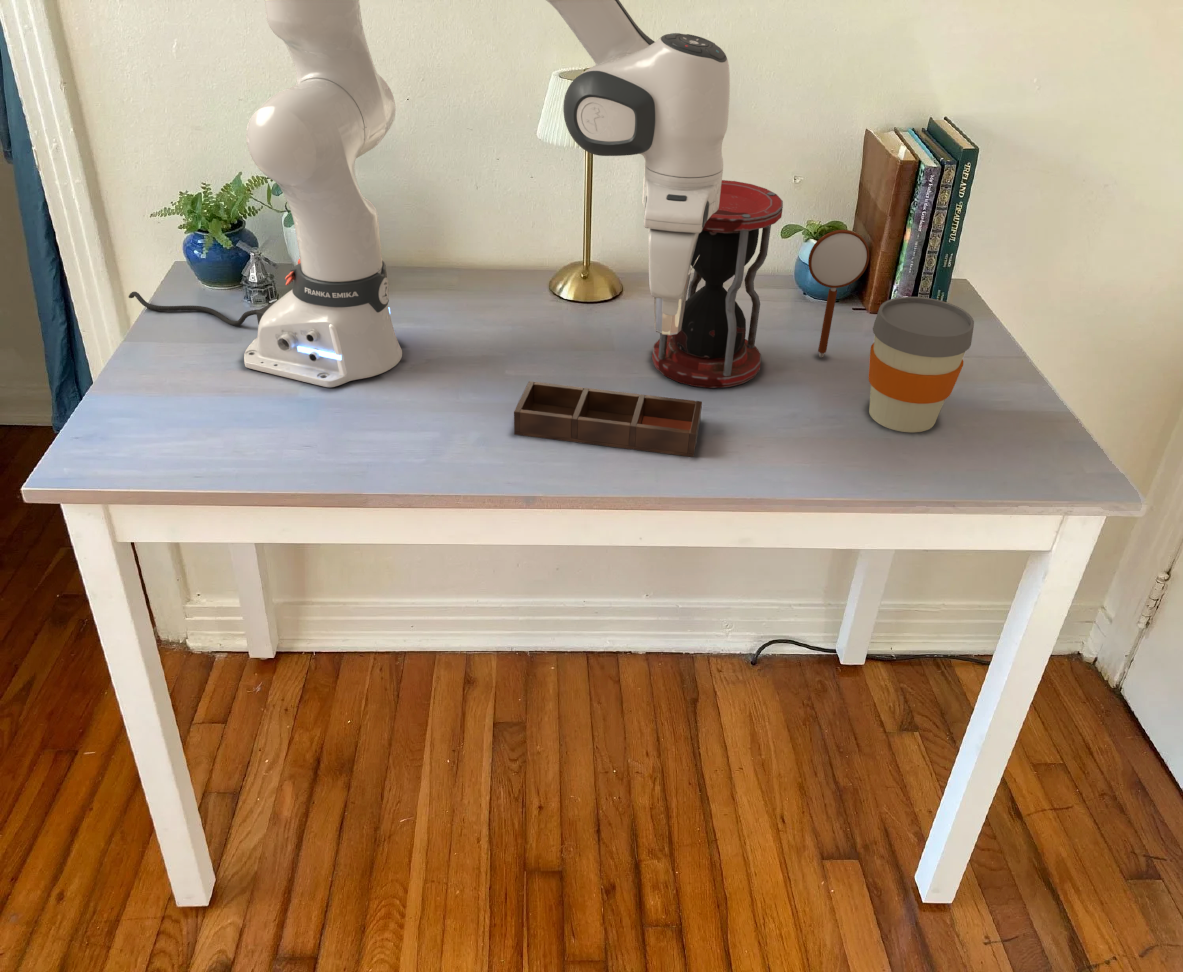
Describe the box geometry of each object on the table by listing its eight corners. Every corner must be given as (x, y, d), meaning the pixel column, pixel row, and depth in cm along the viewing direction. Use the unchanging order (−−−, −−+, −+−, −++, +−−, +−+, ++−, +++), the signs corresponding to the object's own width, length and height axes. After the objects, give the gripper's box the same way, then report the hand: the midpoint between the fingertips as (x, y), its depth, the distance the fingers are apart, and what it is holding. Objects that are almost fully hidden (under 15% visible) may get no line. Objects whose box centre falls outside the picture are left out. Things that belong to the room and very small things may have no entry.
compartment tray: (514, 434, 131) (513, 411, 129) (529, 403, 138) (529, 380, 136) (693, 457, 128) (696, 434, 126) (699, 423, 135) (702, 401, 133)
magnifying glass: (793, 359, 151) (814, 231, 139) (791, 353, 152) (812, 226, 141) (850, 360, 151) (876, 232, 140) (848, 355, 152) (873, 228, 141)
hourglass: (636, 344, 153) (646, 182, 139) (732, 333, 157) (751, 174, 143) (676, 395, 141) (691, 223, 126) (778, 381, 145) (805, 212, 131)
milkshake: (690, 340, 121) (697, 262, 116) (646, 335, 122) (651, 257, 117) (694, 324, 125) (701, 248, 119) (652, 320, 126) (657, 243, 120)
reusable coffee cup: (965, 436, 134) (994, 335, 125) (877, 442, 132) (900, 339, 123) (924, 390, 144) (949, 293, 135) (842, 395, 142) (861, 297, 134)
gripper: (665, 161, 123) (657, 268, 130) (641, 218, 106) (634, 336, 114) (716, 166, 122) (705, 273, 130) (701, 224, 105) (690, 342, 113)
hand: (672, 303), depth 122 cm, fingers closed on milkshake, 4 cm apart
